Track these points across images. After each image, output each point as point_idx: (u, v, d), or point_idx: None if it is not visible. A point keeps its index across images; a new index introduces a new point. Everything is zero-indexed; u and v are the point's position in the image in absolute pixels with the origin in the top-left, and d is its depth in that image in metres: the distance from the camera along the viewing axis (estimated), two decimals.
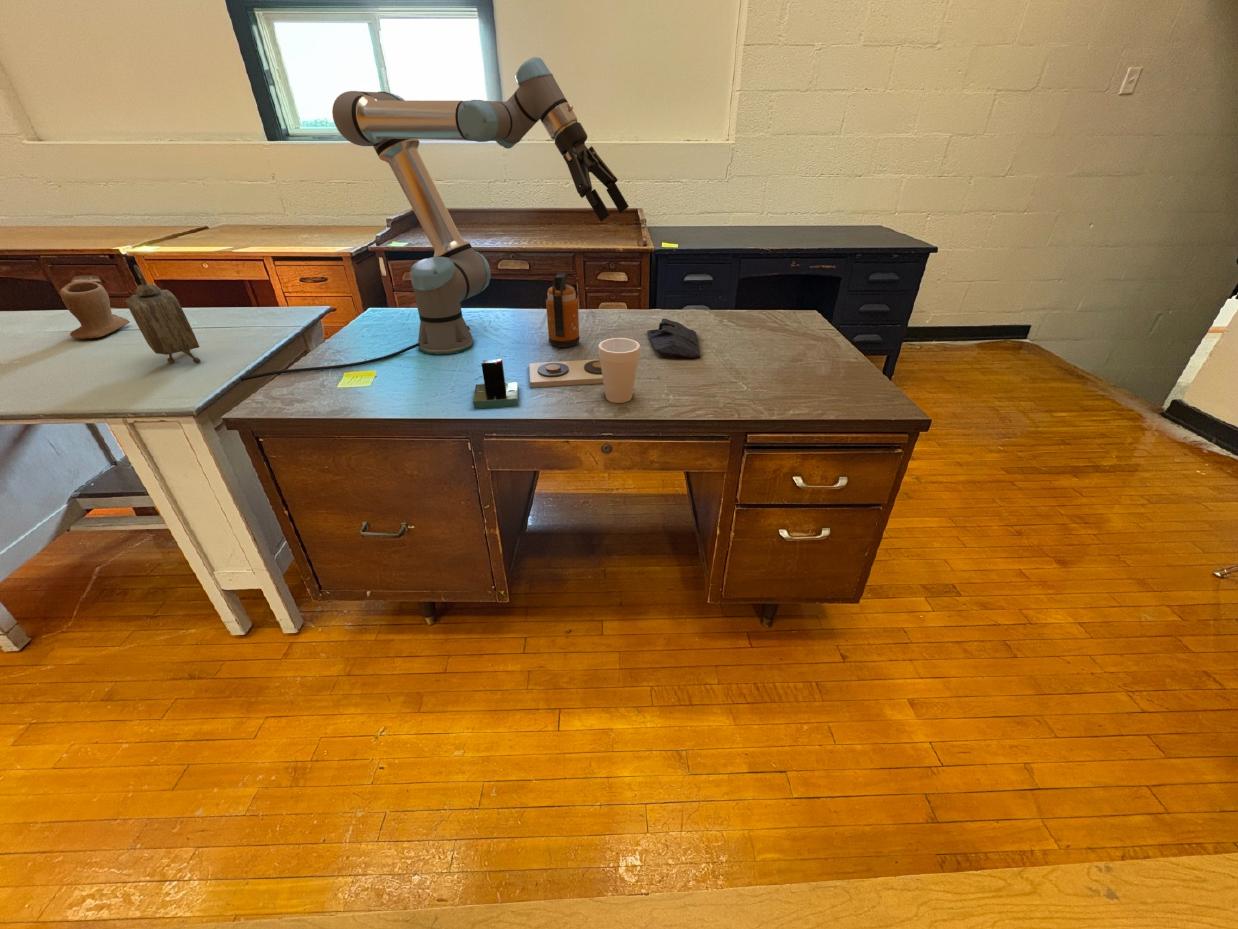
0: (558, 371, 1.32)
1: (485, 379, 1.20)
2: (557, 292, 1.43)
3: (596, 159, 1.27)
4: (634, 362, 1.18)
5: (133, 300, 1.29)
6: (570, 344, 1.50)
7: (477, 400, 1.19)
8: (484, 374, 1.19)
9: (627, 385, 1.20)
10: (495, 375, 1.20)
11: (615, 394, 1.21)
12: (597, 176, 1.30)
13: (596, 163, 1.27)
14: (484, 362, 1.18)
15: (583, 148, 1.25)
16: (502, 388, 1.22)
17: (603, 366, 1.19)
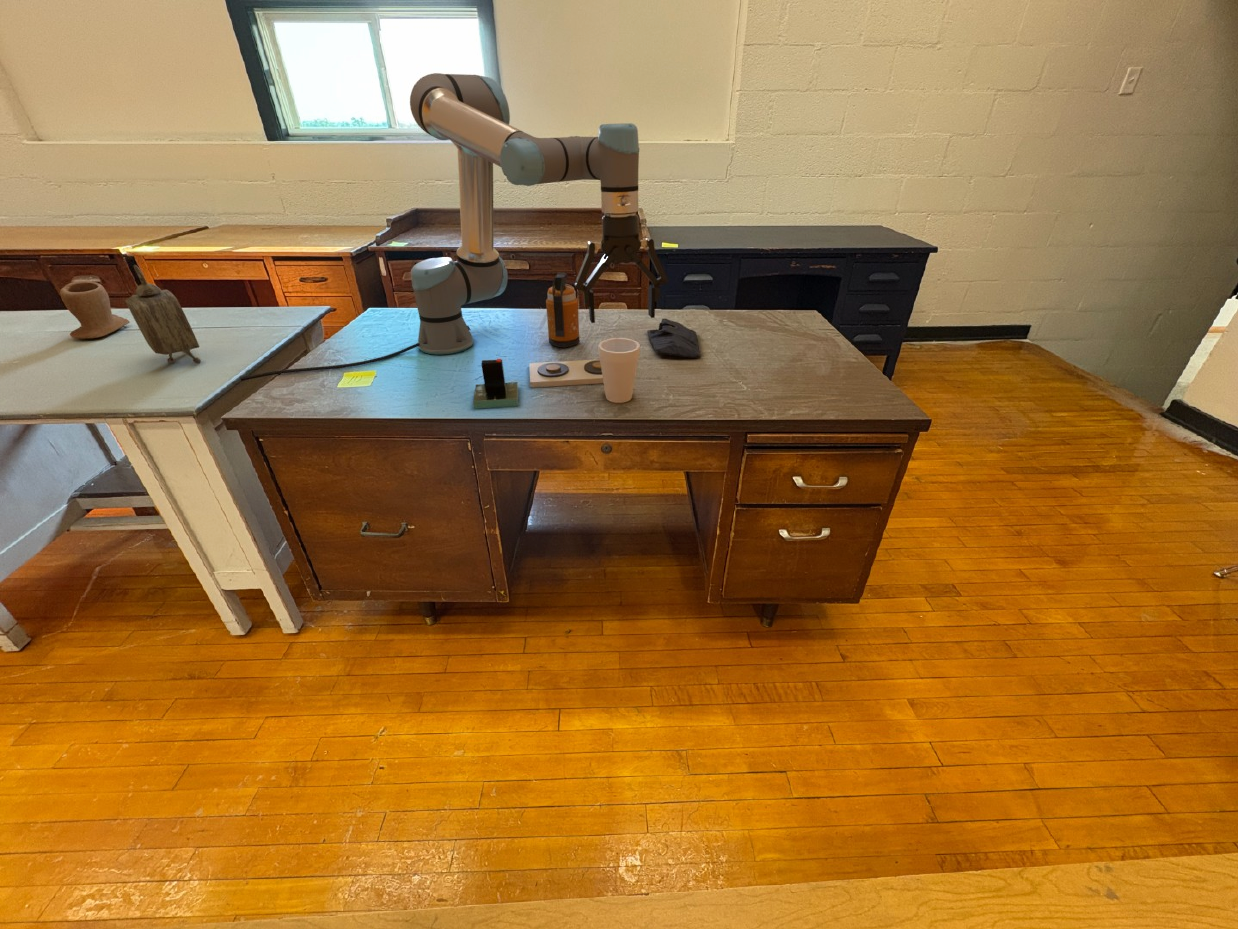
0: (558, 371, 1.32)
1: (485, 379, 1.20)
2: (557, 292, 1.43)
3: (637, 259, 1.09)
4: (634, 362, 1.18)
5: (133, 300, 1.29)
6: (570, 344, 1.50)
7: (477, 400, 1.19)
8: (484, 374, 1.19)
9: (627, 385, 1.20)
10: (495, 375, 1.20)
11: (615, 394, 1.21)
12: (641, 270, 1.13)
13: (635, 262, 1.09)
14: (484, 362, 1.18)
15: (626, 242, 1.07)
16: (502, 388, 1.22)
17: (603, 366, 1.19)
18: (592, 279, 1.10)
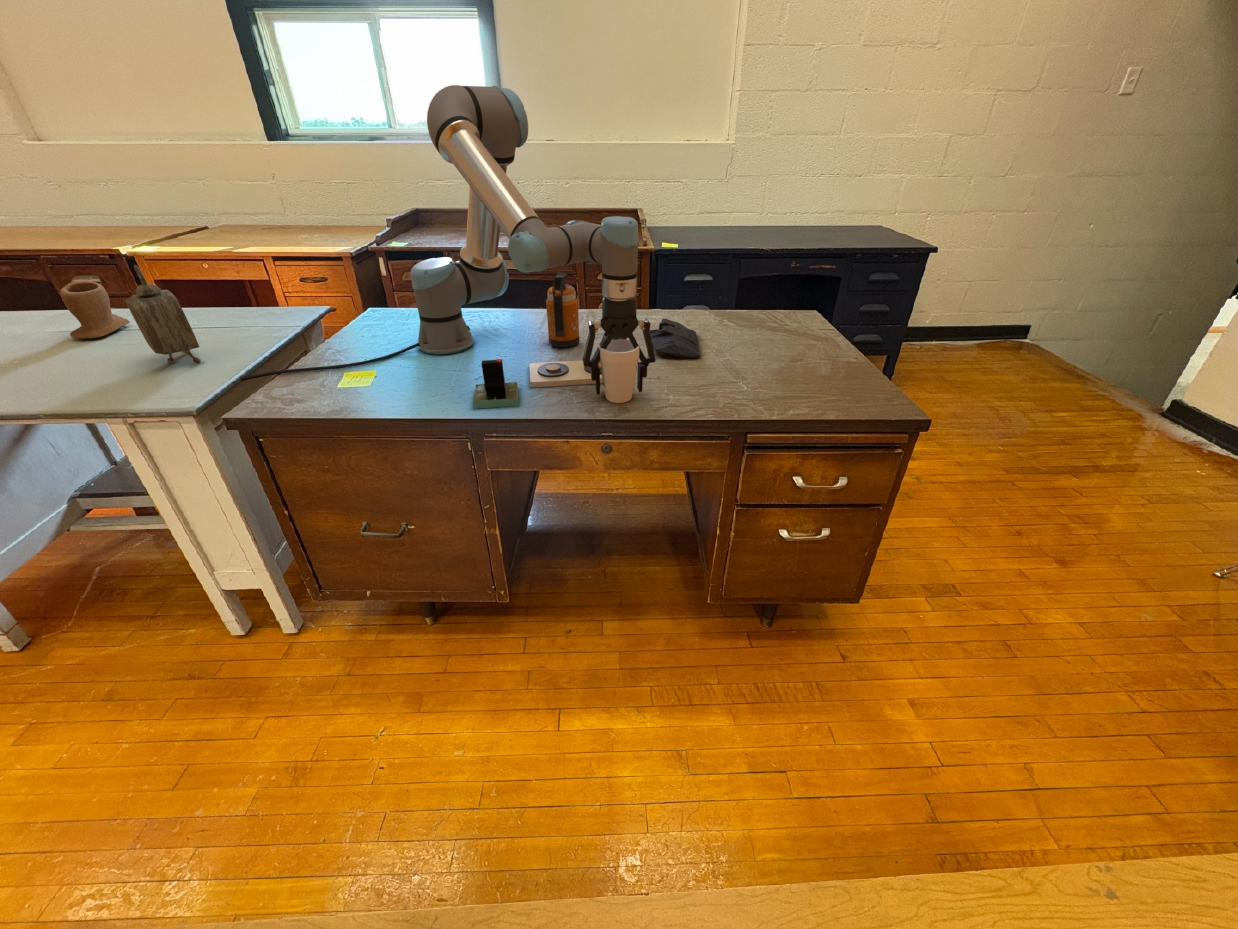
0: (558, 371, 1.32)
1: (485, 379, 1.20)
2: (557, 292, 1.43)
3: (632, 338, 1.16)
4: (634, 362, 1.18)
5: (133, 300, 1.29)
6: (570, 344, 1.50)
7: (477, 400, 1.19)
8: (484, 374, 1.19)
9: (627, 385, 1.20)
10: (495, 375, 1.20)
11: (615, 394, 1.21)
12: None
13: None
14: (484, 362, 1.18)
15: (625, 319, 1.14)
16: (502, 388, 1.22)
17: (603, 366, 1.19)
18: (597, 356, 1.18)
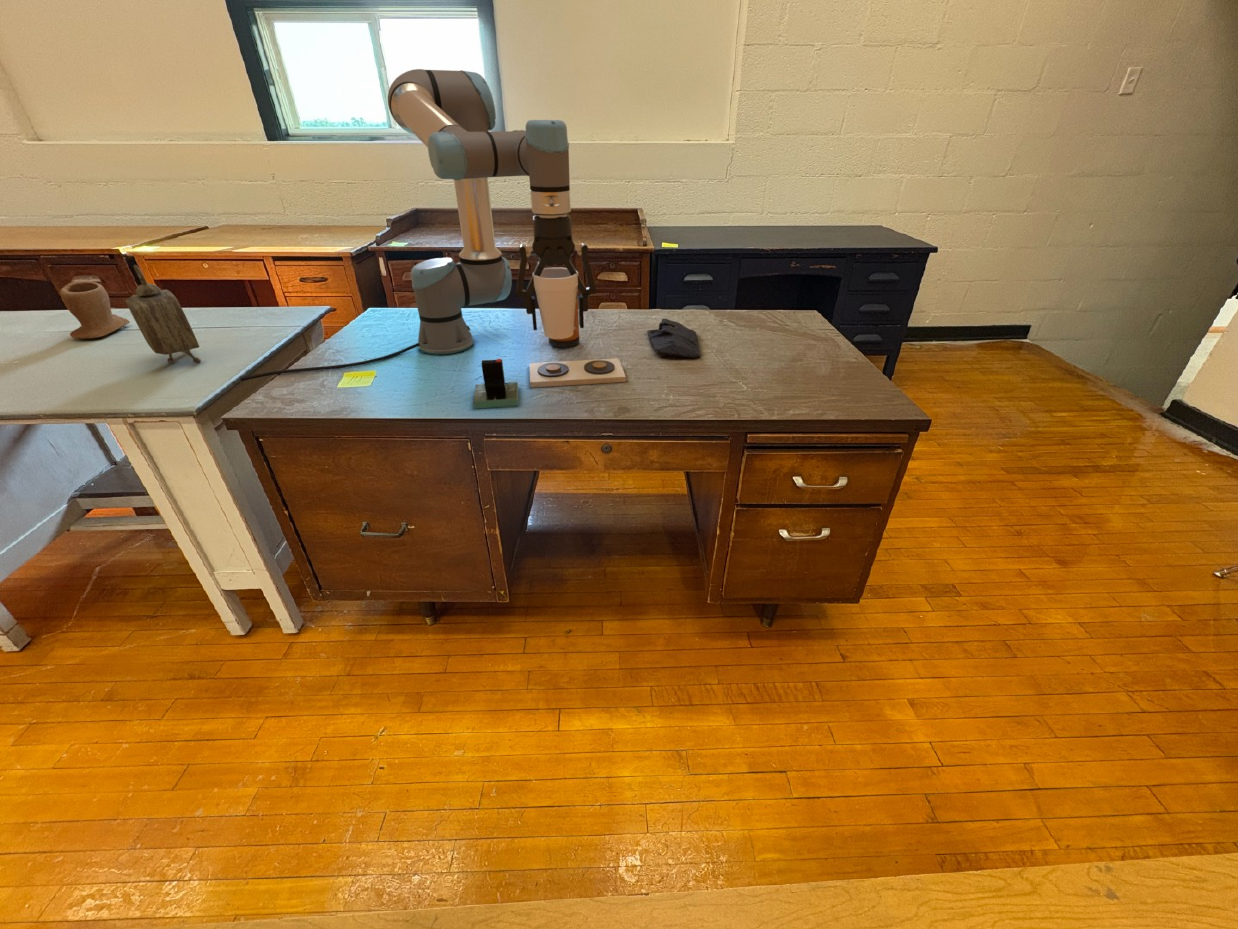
0: (558, 371, 1.32)
1: (485, 379, 1.20)
2: None
3: (568, 263, 1.05)
4: (571, 291, 1.07)
5: (133, 300, 1.29)
6: (570, 344, 1.50)
7: (477, 400, 1.19)
8: (484, 374, 1.19)
9: (565, 318, 1.09)
10: (495, 375, 1.20)
11: (552, 329, 1.11)
12: None
13: (566, 266, 1.06)
14: (484, 362, 1.18)
15: (559, 241, 1.03)
16: (502, 388, 1.22)
17: (538, 296, 1.08)
18: (530, 285, 1.07)
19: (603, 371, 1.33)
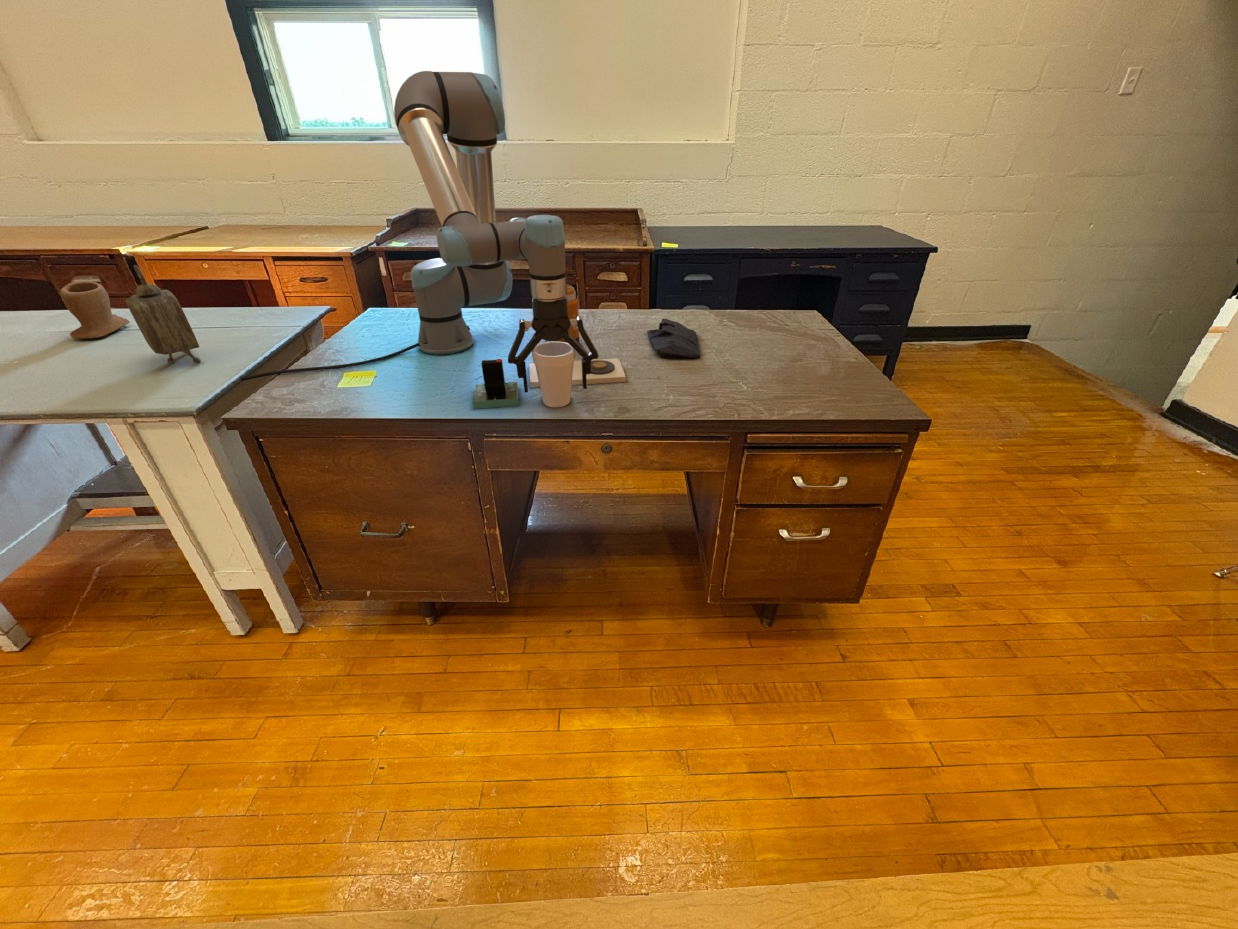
0: None
1: (485, 379, 1.20)
2: None
3: (566, 337, 1.14)
4: (568, 366, 1.16)
5: (133, 300, 1.29)
6: None
7: (477, 400, 1.19)
8: (484, 374, 1.19)
9: (562, 389, 1.18)
10: (495, 375, 1.20)
11: (550, 399, 1.19)
12: None
13: None
14: (484, 362, 1.18)
15: (556, 322, 1.12)
16: (502, 388, 1.22)
17: (537, 370, 1.17)
18: (523, 354, 1.15)
19: (603, 371, 1.33)
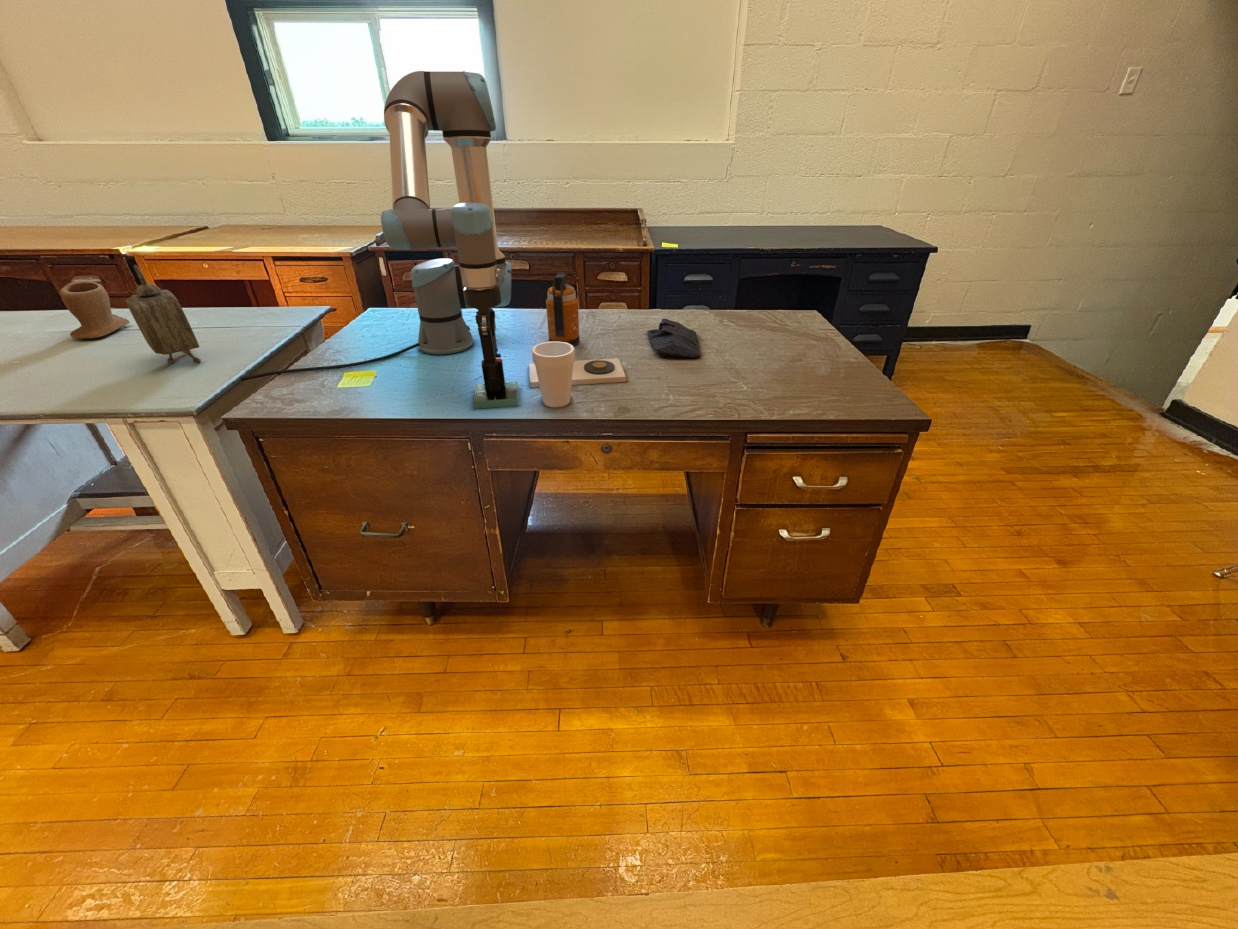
0: None
1: (485, 379, 1.20)
2: (557, 292, 1.43)
3: (495, 325, 1.16)
4: (568, 366, 1.16)
5: (133, 300, 1.29)
6: None
7: (477, 400, 1.19)
8: (484, 374, 1.19)
9: (562, 389, 1.18)
10: None
11: (550, 399, 1.19)
12: None
13: None
14: None
15: None
16: (502, 388, 1.22)
17: (537, 370, 1.17)
18: (495, 352, 1.15)
19: (603, 371, 1.33)
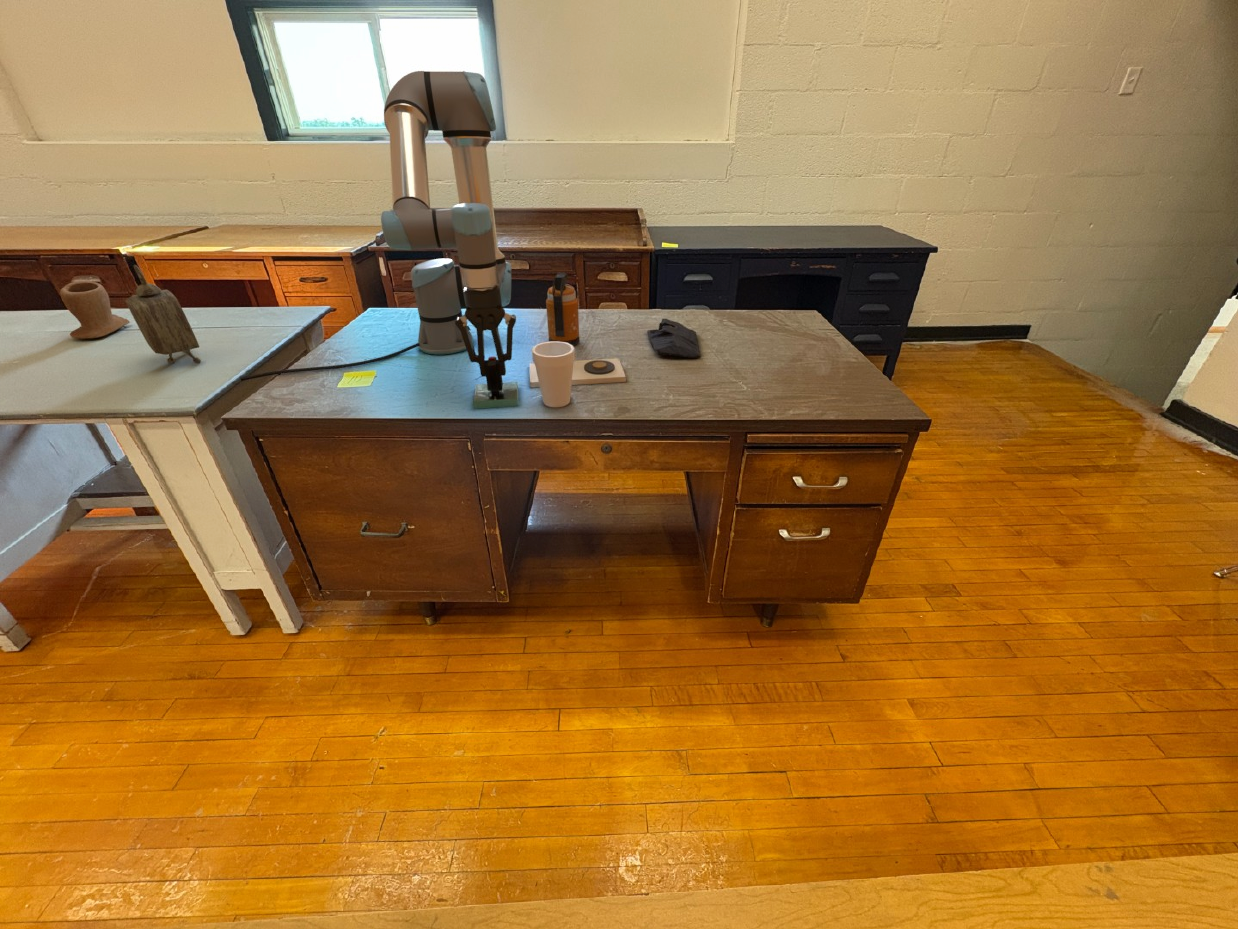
0: None
1: (497, 380, 1.20)
2: (557, 292, 1.43)
3: None
4: (568, 366, 1.16)
5: (133, 300, 1.29)
6: None
7: (477, 400, 1.19)
8: (496, 375, 1.19)
9: (562, 389, 1.18)
10: None
11: (550, 399, 1.19)
12: (483, 343, 1.15)
13: None
14: (494, 363, 1.18)
15: None
16: None
17: (537, 370, 1.17)
18: None
19: (603, 371, 1.33)
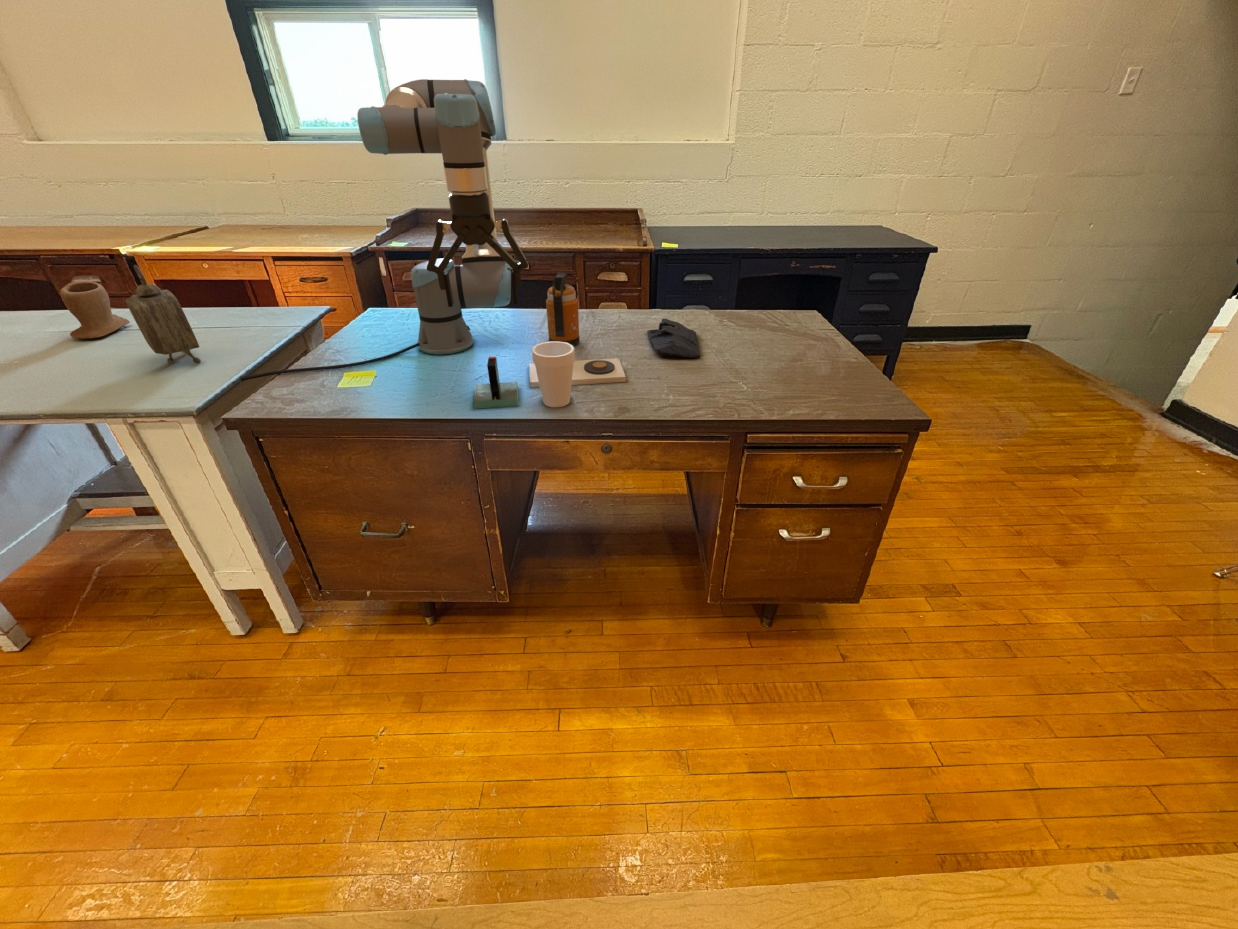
0: None
1: (497, 380, 1.20)
2: (557, 292, 1.43)
3: None
4: (568, 366, 1.16)
5: (133, 300, 1.29)
6: None
7: (477, 400, 1.19)
8: (496, 375, 1.19)
9: (562, 389, 1.18)
10: (497, 372, 1.21)
11: (550, 399, 1.19)
12: None
13: None
14: (494, 363, 1.18)
15: None
16: (499, 384, 1.24)
17: (537, 370, 1.17)
18: None
19: (603, 371, 1.33)
